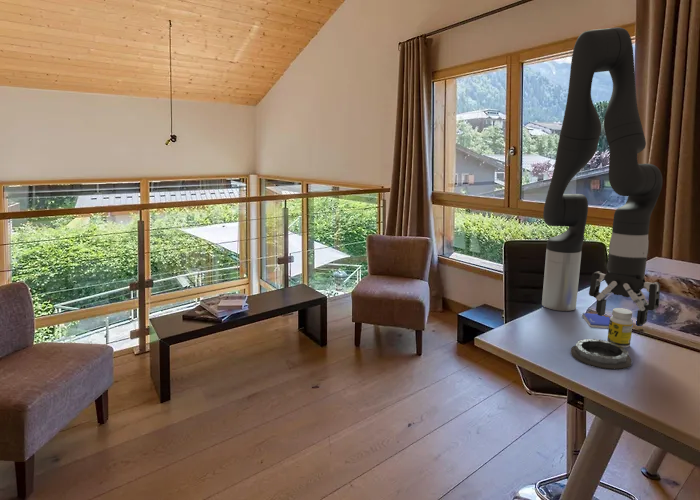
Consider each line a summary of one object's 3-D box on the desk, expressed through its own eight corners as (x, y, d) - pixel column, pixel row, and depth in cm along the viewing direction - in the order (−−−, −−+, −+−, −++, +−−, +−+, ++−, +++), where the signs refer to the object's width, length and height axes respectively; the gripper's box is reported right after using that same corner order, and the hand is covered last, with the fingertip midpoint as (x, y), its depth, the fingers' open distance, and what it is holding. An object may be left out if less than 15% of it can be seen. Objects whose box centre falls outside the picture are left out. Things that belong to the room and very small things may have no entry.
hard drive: (590, 323, 118) (643, 326, 115) (582, 312, 125) (632, 315, 123) (590, 328, 118) (642, 332, 115) (581, 317, 126) (631, 320, 123)
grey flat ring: (563, 344, 107) (564, 336, 107) (617, 347, 106) (618, 338, 105) (581, 368, 96) (582, 359, 95) (642, 371, 94) (643, 362, 94)
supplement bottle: (602, 340, 110) (606, 307, 108) (621, 339, 110) (625, 306, 108) (615, 348, 105) (619, 314, 103) (634, 347, 105) (639, 313, 104)
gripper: (587, 249, 106) (581, 315, 109) (655, 260, 95) (646, 332, 98) (603, 246, 110) (596, 309, 113) (670, 255, 99) (660, 325, 102)
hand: (619, 320), depth 106 cm, fingers open, 8 cm apart
